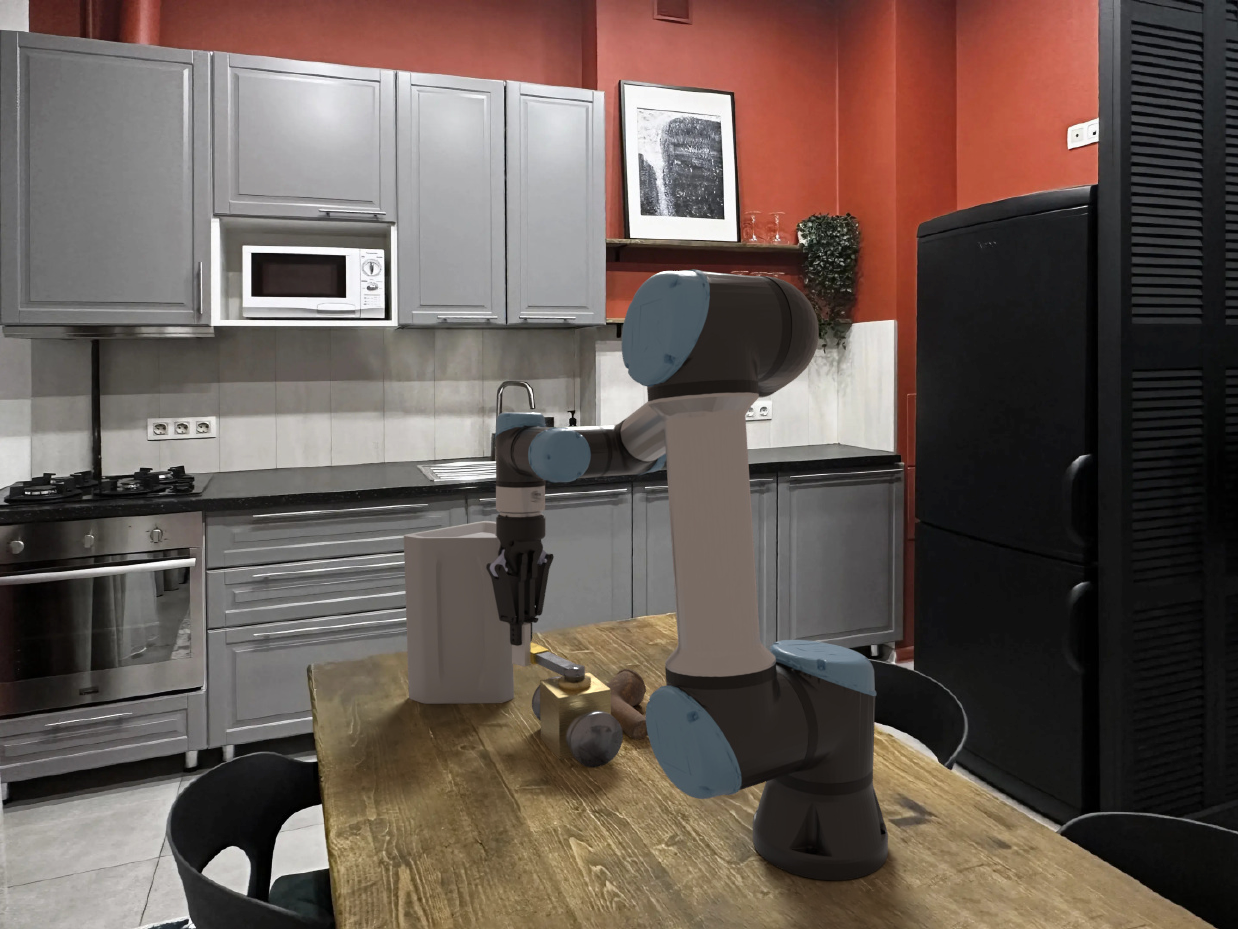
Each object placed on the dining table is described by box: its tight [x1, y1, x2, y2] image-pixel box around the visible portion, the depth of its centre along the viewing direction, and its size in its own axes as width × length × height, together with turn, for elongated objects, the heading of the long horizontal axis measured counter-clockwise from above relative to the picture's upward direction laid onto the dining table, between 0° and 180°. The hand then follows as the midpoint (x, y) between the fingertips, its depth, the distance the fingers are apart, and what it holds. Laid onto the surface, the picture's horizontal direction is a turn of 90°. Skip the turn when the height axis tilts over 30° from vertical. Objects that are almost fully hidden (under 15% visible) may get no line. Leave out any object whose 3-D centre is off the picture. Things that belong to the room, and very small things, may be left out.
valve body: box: [531, 672, 624, 768], centre depth 127 cm, size 17×8×10 cm, turn 25°
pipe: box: [606, 668, 648, 741], centre depth 137 cm, size 6×17×10 cm
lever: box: [530, 641, 586, 682], centre depth 132 cm, size 16×3×2 cm, turn 37°
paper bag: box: [403, 520, 515, 705], centre depth 149 cm, size 19×15×28 cm
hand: (521, 664), depth 134 cm, fingers closed
